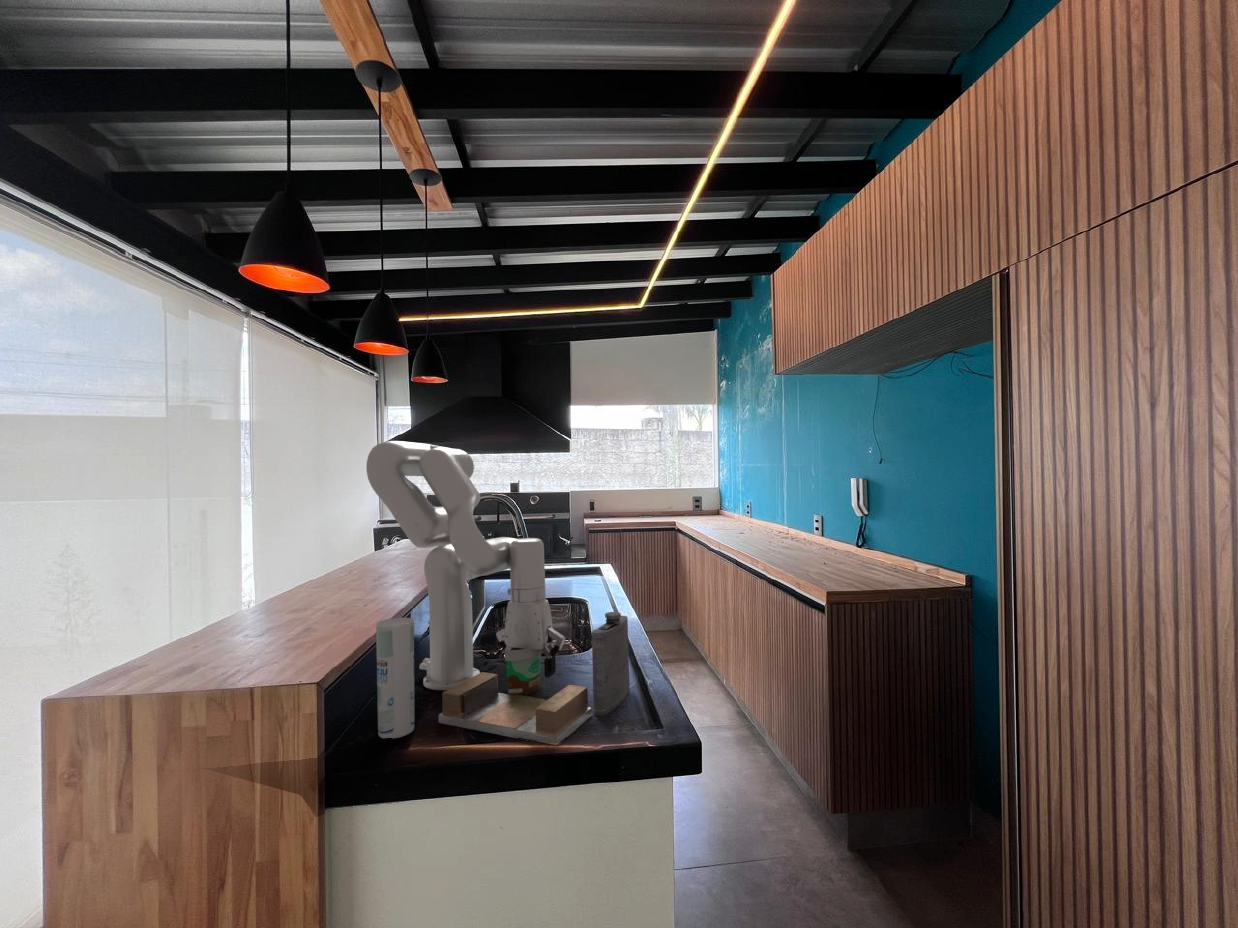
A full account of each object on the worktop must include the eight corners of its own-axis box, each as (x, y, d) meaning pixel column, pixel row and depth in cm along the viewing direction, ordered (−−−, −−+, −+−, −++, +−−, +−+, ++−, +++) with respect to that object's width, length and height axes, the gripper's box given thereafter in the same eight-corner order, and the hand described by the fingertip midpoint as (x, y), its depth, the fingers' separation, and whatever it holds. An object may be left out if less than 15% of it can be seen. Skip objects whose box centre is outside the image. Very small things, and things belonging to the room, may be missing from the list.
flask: (634, 689, 116) (632, 605, 117) (608, 716, 103) (606, 622, 104) (619, 687, 118) (616, 604, 118) (591, 714, 104) (588, 620, 105)
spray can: (421, 730, 100) (419, 621, 100) (385, 742, 95) (384, 628, 96) (406, 719, 104) (405, 615, 105) (371, 731, 100) (370, 622, 100)
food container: (533, 700, 112) (532, 652, 112) (505, 699, 113) (504, 651, 113) (552, 679, 124) (551, 635, 124) (527, 678, 125) (526, 634, 125)
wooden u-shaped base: (438, 722, 103) (438, 693, 103) (482, 697, 114) (481, 670, 115) (556, 746, 92) (556, 713, 92) (591, 715, 104) (590, 686, 104)
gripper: (485, 596, 119) (488, 674, 119) (553, 600, 112) (556, 683, 112) (506, 589, 126) (508, 664, 125) (570, 592, 119) (573, 671, 118)
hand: (531, 673), depth 118 cm, fingers open, 9 cm apart
